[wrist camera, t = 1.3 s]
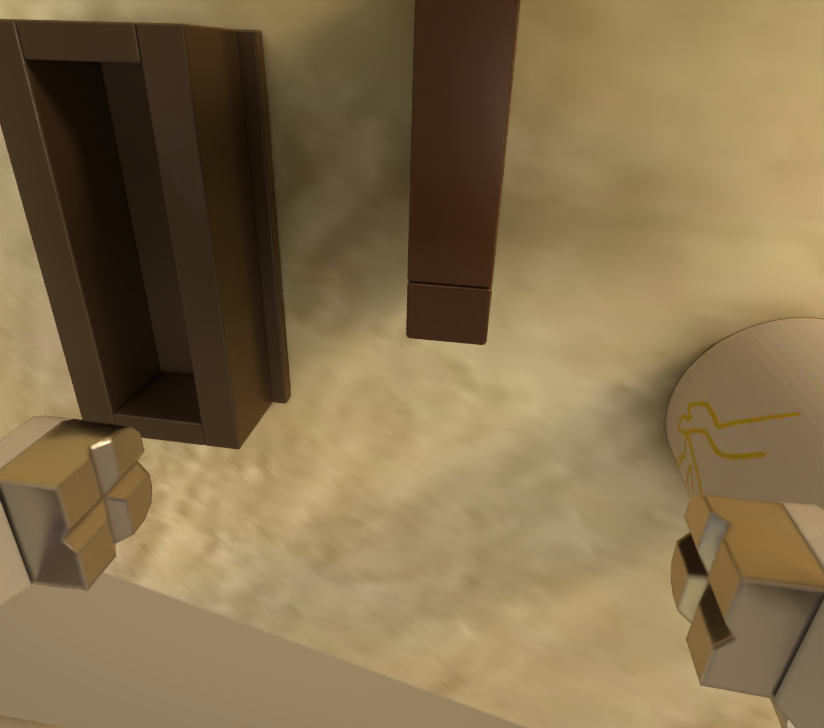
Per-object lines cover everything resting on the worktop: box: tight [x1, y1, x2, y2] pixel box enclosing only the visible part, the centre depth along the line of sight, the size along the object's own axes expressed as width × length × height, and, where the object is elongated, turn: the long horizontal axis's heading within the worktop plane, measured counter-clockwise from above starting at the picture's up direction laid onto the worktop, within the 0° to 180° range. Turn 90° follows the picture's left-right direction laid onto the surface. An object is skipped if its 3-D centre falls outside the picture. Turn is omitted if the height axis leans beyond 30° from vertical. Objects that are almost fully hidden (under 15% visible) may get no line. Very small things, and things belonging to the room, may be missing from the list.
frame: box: [406, 0, 520, 345], centre depth 16 cm, size 2×10×8 cm, turn 178°
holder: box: [0, 19, 290, 449], centre depth 21 cm, size 8×14×4 cm, turn 178°
